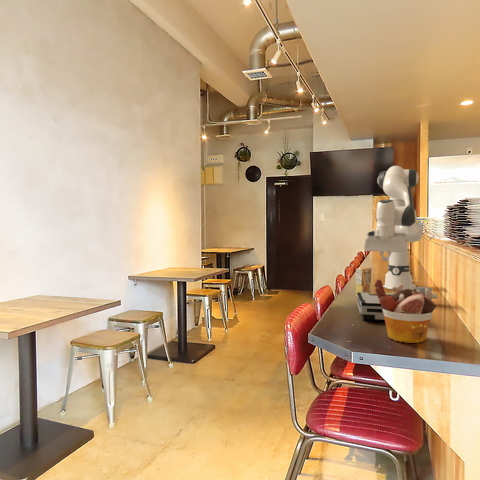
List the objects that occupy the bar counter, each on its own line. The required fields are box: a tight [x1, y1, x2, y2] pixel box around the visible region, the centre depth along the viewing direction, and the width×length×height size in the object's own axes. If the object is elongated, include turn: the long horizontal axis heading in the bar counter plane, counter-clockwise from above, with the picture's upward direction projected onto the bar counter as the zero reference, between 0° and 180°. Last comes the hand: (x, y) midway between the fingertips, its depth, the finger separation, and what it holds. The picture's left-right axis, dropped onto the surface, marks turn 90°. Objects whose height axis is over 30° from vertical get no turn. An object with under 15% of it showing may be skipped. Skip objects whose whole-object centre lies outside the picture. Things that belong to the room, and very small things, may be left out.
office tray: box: [356, 292, 393, 323], centre depth 169 cm, size 21×32×8 cm, turn 167°
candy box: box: [355, 266, 372, 298], centre depth 213 cm, size 9×4×15 cm, turn 129°
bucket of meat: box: [374, 279, 439, 344], centre depth 133 cm, size 20×16×20 cm
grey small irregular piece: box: [415, 286, 433, 301], centre depth 191 cm, size 7×7×8 cm
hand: (385, 260), depth 194 cm, fingers closed
